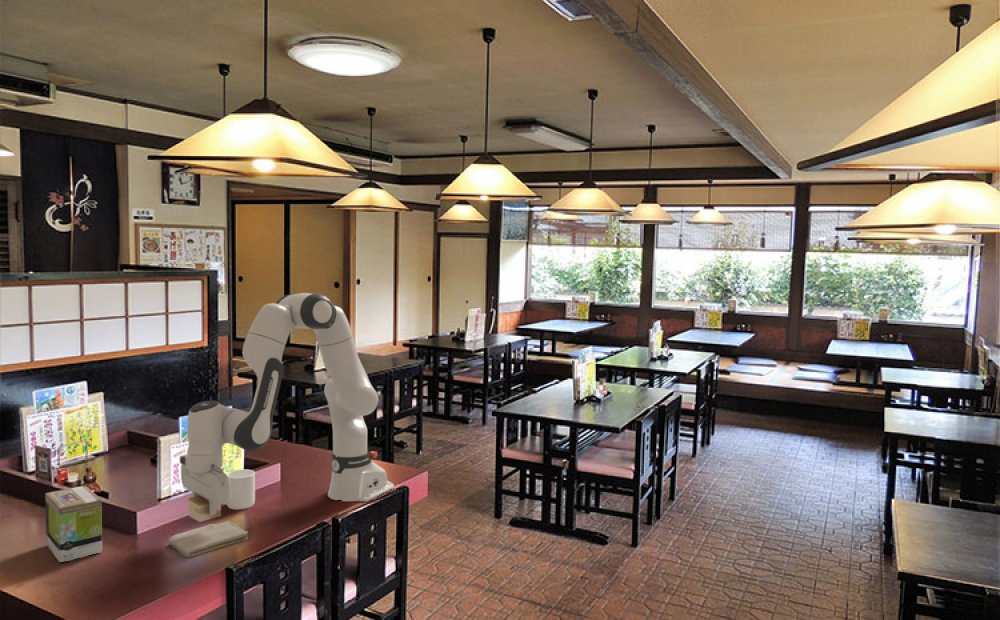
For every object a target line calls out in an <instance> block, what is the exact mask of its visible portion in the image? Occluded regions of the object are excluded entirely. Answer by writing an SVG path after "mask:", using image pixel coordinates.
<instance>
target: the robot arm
mask: <svg viewBox="0 0 1000 620" xmlns="http://www.w3.org/2000/svg"><path fill="white" fill-rule="evenodd" d="M294 329H296V330H297V329H298V330H307V329H309V330H310V329H312V330H313V331H314V333H315V337H316V340H317V345H318V347H319V351H320V354H321V358H322V359H321V360H322V363H323V365H324V368H325V369H326V371H327V373H328V374H329V376H330V378H328V380H327V381H326V383H325V386H324V389H323V390H324V391H323V392H324V397H325V398H326V401H327V405H328V410H329V416H330V420H331V426H332V452H331V462H330V463H331V478H330V479H331V480H330V484H329V488H328V493H327V496H328V498H330V500H334V501H337V500H342V501H341V502H369V500H370V501H371V499H372V500H374V499H375V498H377V496H378V497H379V495H380V496H381V494H382V495H384V494H386V493H388V492H390V491H392V490H394V489H395V485H394V483H393V482H391V481H389V480H388V475H387V472H386V470H385V469H384V468H383V467H381V466H380V465H379V464H377V463H375V462H374V461H372V458H373V459H376V458H377V456H378V452H377V451H373V450H371V451H370V450H368V427H367V425H366V423H365V419H364V416H368V415H371V414H372V413H373V412H374V411H375V410H376V408H377V406H378V403H379V395H378V392H377V391H376V390H375V388H374V387H373V385H372V383H371V381H370V380H369V379H370V378H369V377H368V374H367V373H366V369H365V368H364V366H363V363H362V362H361V360H360V359H361V358H360V357H359V355H358V354H359V353H358V350H357V346H356V343H355V339H354V336H353V335H354V334H353V331H352V329H351V324H350V323H349V320H348V318H347V316H346V314H345V312H344V310H343V309H342V308H341V307H340V306H337V305H334V304H333V302H332V301H331V300H330V298H328V297H327V296H325V295H323V294H320V293H310V292H301V293H290V294H286V295H284V296H282V297H280V298H279V299H278V300H277V301H276V302H274V303H273V302H271V303H266V304H264V305H263V306H262V307H261V308H260V310H259V311H258V313H257V314H256V316H255V318H254V319H253V322H252V323H251V326H250V328H249V330H248V333H247V335H246V338H245V339H244V342H243V346H242V352H241V353H242V357H243V359H244V361H245V362H246V364H247V365H248V367H250V369H252V371H253V372H254V373H255V375H256V379H257V386H256V389H255V394H254V397H253V401H252V405H251V409H250V410H249V411H245V410H243V409H239V408H233V407H229V406H225V405H224V404H221V403H219V401H216V400H206V401H205V400H204V401H201V402H198V403H196V404H194V405H192V406H191V408H190V409H189V411H188V416H187V424H186V438H187V441H188V447H187V451H186V453H185V454H182V455H180V456H179V464H181V465H180V477H181V478H180V480H181V484H182V487H183V488H185V489H187V490H189V491H191V495H192V497H194V496H198V495H200V496H202V497H204V498H206V499H208V500H209V503H210V506H209V508H208V514H210V515H214V514H216V512H217V506H218V504H220V503H223V502H227V501H228V500H229V496H230V495H229V482H228V477H227V473H225V472H224V470H223V468H222V467H223V446H224V444H230V445H233V446H237V447H238V448H240V449H242V450H244V451H247V452H257V451H259V450H261V449H262V448H264V446H265V445H267V443H268V442H269V440H270V439H271V437H272V432H273V419H274V413H275V409H276V405H277V401H278V400H277V399H278V396H279V393H280V388H281V384H282V378H283V373H284V372H283V371H284V367H283V363H282V360H283V353H284V350H285V348H286V344H287V342H288V339H289V335H290V334H291V332H292V331H293V330H294ZM393 488H394V489H393ZM391 489H392V490H391ZM389 490H390V491H389ZM387 491H388V492H387ZM385 492H386V493H385ZM383 493H384V494H383Z"/></svg>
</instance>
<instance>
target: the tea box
mask: <svg viewBox="0 0 1000 620" xmlns="http://www.w3.org/2000/svg"><path fill="white" fill-rule="evenodd" d="M44 499H45V500H44V502H45V504H44V505H45V506H44V507H45V541H46V546H47V547H48V549H49V550H50V551H51V553H52V554H53V556H54V557H55V558H56V559H57V561H58V562H59V563H60V562H64V561H69V560H72V559H76V558H80V557H84V556H88V555H92V554H96V553H99V554H101V553H103V552H102V551H103V539H102V537H103V529H102V527H103V526H102V523H103V520H102V518H103V517H102V509H103V507H102V505H103V504H102V499H101V498H100V496H98V495H97V494H96V493H94V491H92V490H91V489H90V488H89V487H88V486H86V485H81V486H76V487H72V488H71V487H70V488H66V489H61V490H54V491H51V492H46V493H45V498H44ZM100 552H101V553H100ZM96 555H97V554H96ZM92 556H93V555H92ZM88 557H89V556H88ZM69 562H70V561H69Z"/></svg>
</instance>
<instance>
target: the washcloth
mask: <svg viewBox="0 0 1000 620" xmlns="http://www.w3.org/2000/svg"><path fill="white" fill-rule="evenodd" d="M248 533H249V531H248V530H245V529H243V528H241V527H240V526H239V525H237V524H236V523H234V522H231V521H230V520H227V521H224V522H219V523H208V524H207V525H204V526H201V527H198V528H194V529H191V530H190V529H189V530H187V531H183V532H182V533H181V532H180V533H177V534H174V535H173V536H171V537H169V539H168V540H167V543H168V545H170V546H171V547H172V548H173V549H175V548H176V549H175V550H177V551H178V552H179V553H180V554H181V555H183V556H184V557H185V558H188V557H189V558H191V556H192V557H194V556H198V555H201V554H204V553H208V552H211V551H215V550H218V549H220V548H223V547H227V546H230V545H233V544H236V543H240V542H243V541H247V540H249V537H248Z"/></svg>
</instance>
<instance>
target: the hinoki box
mask: <svg viewBox="0 0 1000 620" xmlns="http://www.w3.org/2000/svg"><path fill="white" fill-rule="evenodd" d="M187 500H188V517H190V518H191V519H193V520H195V521H197V522H198V523H201V522H205V521H209V520H211V519H216V518H218V517H221V516H222V504H221V503H220V504H218V506H217V512H216V514H214V515H210V514H208V508H209V506H210V503H209V500H208V499H206V498H204V497H202V496H200V495H198V496H194V497H193V496H192V497H188V499H187Z"/></svg>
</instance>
